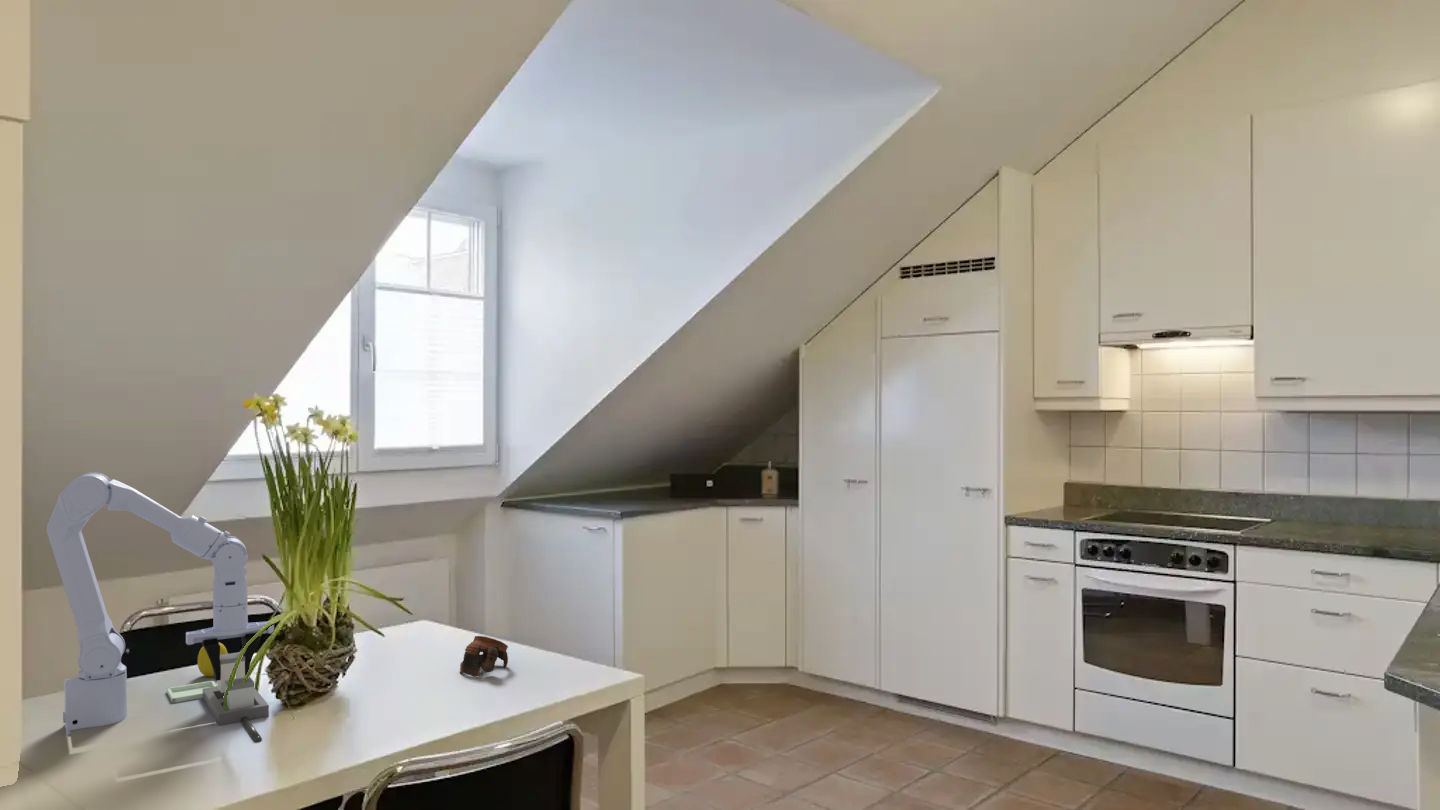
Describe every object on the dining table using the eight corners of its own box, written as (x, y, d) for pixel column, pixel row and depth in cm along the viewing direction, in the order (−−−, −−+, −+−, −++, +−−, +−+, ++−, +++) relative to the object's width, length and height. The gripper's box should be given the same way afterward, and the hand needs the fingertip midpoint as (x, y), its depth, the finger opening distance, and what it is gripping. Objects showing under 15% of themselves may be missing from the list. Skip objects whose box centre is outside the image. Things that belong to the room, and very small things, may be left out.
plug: (221, 693, 178) (220, 660, 178) (217, 687, 181) (216, 655, 181) (245, 688, 180) (245, 656, 180) (241, 683, 184) (240, 651, 184)
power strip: (231, 750, 158) (231, 731, 158) (202, 701, 183) (202, 685, 183) (284, 739, 163) (284, 720, 163) (249, 693, 188) (248, 677, 188)
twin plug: (229, 720, 171) (228, 686, 171) (225, 714, 175) (224, 680, 174) (254, 715, 174) (254, 682, 174) (250, 709, 177) (249, 676, 177)
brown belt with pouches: (450, 672, 203) (464, 634, 207) (491, 686, 207) (504, 649, 210) (469, 671, 193) (483, 630, 197) (511, 686, 197) (525, 646, 201)
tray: (172, 707, 180) (172, 698, 180) (166, 696, 187) (166, 687, 187) (220, 698, 185) (220, 690, 185) (213, 688, 191) (213, 680, 191)
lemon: (219, 683, 195) (218, 643, 195) (192, 683, 195) (191, 643, 195) (233, 675, 200) (233, 636, 200) (207, 675, 200) (206, 636, 200)
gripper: (268, 595, 188) (269, 665, 188) (183, 605, 179) (184, 678, 179) (276, 601, 182) (277, 673, 182) (188, 612, 174) (189, 688, 174)
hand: (231, 676), depth 180 cm, fingers closed on plug, 4 cm apart
